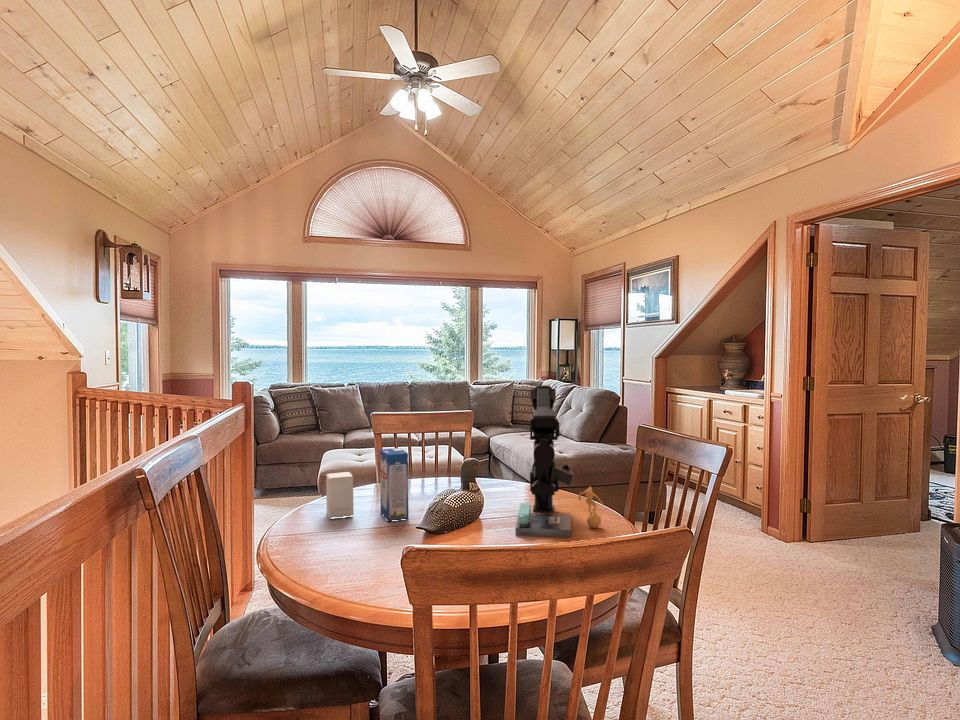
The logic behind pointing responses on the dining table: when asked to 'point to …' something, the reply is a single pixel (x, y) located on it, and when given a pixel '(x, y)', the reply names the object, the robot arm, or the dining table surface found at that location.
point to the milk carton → (394, 483)
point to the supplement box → (339, 494)
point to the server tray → (546, 525)
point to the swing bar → (524, 513)
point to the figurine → (593, 518)
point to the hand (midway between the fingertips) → (544, 511)
